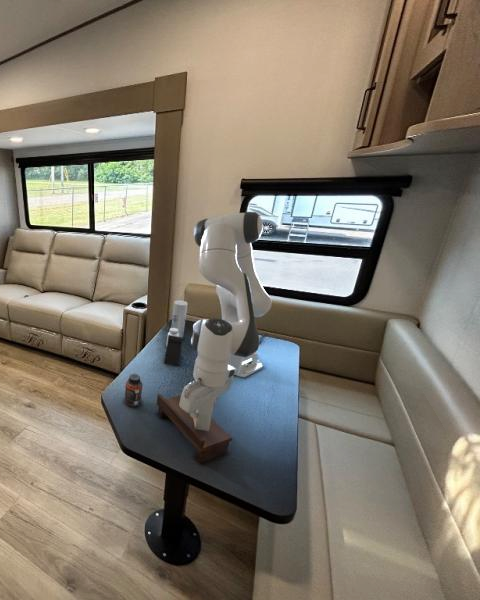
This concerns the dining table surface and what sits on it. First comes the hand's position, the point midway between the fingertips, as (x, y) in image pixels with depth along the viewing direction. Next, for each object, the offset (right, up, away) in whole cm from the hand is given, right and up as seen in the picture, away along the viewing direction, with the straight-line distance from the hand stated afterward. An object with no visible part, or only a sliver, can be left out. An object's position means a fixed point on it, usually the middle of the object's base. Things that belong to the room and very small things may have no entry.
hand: (202, 411), depth 97 cm
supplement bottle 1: (-18, -4, +22) cm, 29 cm away
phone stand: (+5, +6, +49) cm, 50 cm away
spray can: (+13, +14, +69) cm, 71 cm away
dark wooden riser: (-1, -10, +8) cm, 12 cm away
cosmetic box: (0, -5, +2) cm, 5 cm away
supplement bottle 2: (+8, +11, +60) cm, 62 cm away
